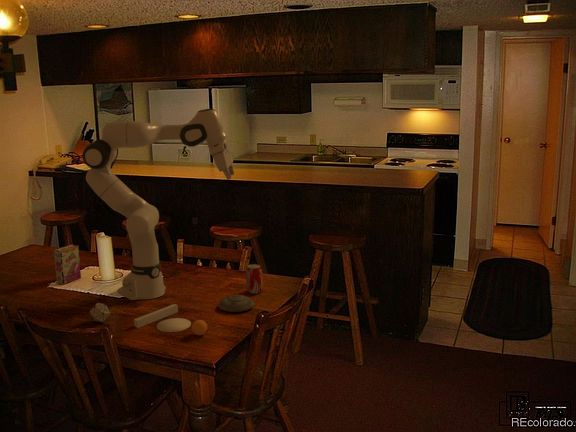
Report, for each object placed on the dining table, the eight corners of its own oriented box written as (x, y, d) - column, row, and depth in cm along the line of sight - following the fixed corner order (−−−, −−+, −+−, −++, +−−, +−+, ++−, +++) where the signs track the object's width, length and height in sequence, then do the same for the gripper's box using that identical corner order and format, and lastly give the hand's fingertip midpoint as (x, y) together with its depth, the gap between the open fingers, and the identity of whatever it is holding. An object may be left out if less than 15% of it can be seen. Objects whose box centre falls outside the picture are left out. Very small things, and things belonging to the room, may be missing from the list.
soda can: (260, 295, 256) (259, 268, 254) (244, 294, 258) (243, 268, 255) (264, 289, 263) (263, 263, 260) (249, 288, 264) (248, 263, 262)
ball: (189, 335, 216) (188, 321, 215) (200, 330, 221) (199, 316, 219) (199, 339, 213) (198, 324, 212) (210, 334, 217) (210, 319, 216)
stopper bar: (134, 326, 225) (134, 319, 224) (174, 310, 240) (174, 303, 239) (137, 328, 224) (137, 320, 223) (178, 311, 239) (177, 304, 238)
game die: (98, 329, 232) (91, 306, 235) (118, 321, 232) (111, 298, 235) (88, 327, 223) (81, 303, 226) (108, 319, 223) (102, 294, 226)
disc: (149, 326, 225) (149, 326, 225) (175, 316, 235) (175, 315, 235) (171, 335, 217) (171, 334, 217) (198, 323, 227) (197, 323, 227)
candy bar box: (64, 285, 273) (60, 251, 269) (56, 283, 275) (52, 250, 271) (82, 278, 282) (78, 245, 279) (74, 276, 285) (71, 244, 281)
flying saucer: (241, 317, 233) (241, 304, 232) (210, 310, 240) (210, 298, 239) (261, 304, 246) (261, 292, 245) (231, 299, 253) (231, 287, 252)
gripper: (216, 145, 255) (227, 174, 258) (208, 152, 235) (220, 184, 238) (229, 140, 254) (240, 170, 257) (222, 147, 235) (234, 179, 238)
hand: (231, 176), depth 248 cm, fingers open, 8 cm apart
